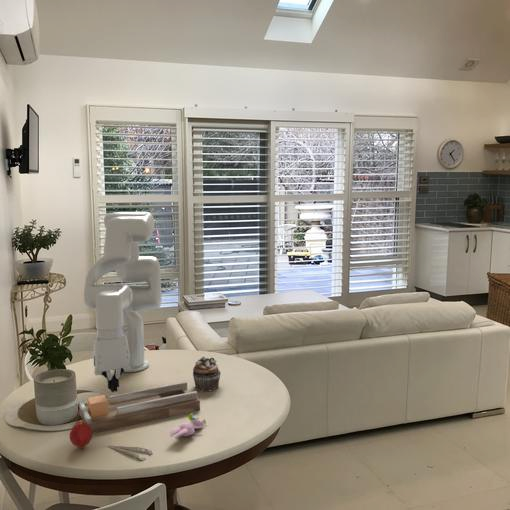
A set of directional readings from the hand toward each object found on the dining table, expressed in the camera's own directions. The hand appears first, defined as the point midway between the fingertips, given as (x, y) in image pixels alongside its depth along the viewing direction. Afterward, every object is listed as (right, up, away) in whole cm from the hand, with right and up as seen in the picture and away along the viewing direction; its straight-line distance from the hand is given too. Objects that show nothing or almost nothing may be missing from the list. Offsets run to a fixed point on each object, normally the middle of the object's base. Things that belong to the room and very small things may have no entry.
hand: (113, 390), depth 163 cm
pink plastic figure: (+24, -10, -10) cm, 28 cm away
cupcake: (+26, -5, +24) cm, 36 cm away
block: (-4, -6, -2) cm, 7 cm away
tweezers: (+7, -12, -18) cm, 23 cm away
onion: (-4, -11, -17) cm, 21 cm away
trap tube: (+7, -8, +4) cm, 11 cm away
